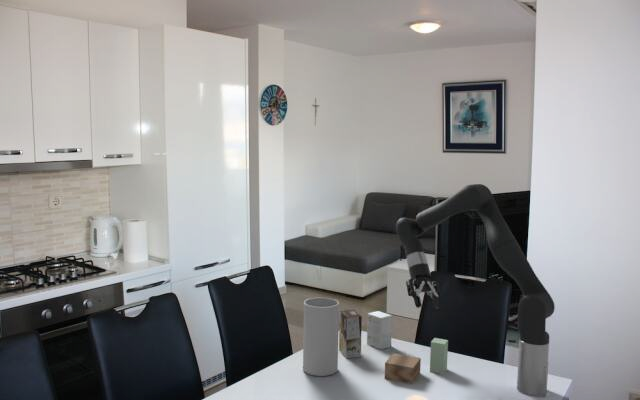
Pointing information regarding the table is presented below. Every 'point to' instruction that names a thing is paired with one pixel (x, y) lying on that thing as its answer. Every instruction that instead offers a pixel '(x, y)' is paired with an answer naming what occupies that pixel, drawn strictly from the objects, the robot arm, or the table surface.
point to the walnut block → (402, 368)
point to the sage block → (438, 355)
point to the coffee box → (350, 333)
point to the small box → (379, 329)
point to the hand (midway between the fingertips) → (428, 307)
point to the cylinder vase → (320, 336)
